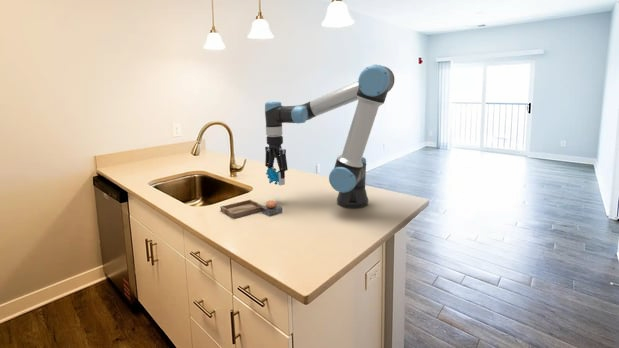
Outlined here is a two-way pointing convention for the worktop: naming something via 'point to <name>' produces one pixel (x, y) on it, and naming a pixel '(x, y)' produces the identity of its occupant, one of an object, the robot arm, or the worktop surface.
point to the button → (271, 204)
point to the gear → (273, 175)
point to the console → (271, 210)
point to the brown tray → (241, 209)
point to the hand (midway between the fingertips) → (276, 183)
